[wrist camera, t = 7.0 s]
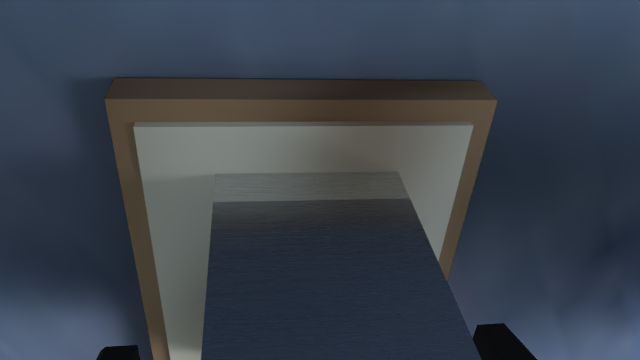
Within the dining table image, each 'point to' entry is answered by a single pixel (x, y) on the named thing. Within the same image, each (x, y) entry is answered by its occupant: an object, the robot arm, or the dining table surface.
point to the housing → (325, 272)
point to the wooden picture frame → (277, 165)
